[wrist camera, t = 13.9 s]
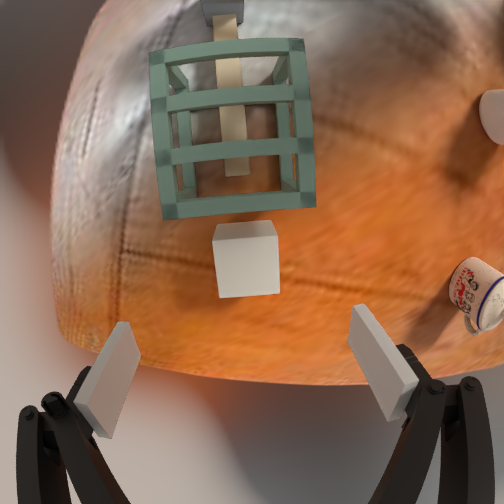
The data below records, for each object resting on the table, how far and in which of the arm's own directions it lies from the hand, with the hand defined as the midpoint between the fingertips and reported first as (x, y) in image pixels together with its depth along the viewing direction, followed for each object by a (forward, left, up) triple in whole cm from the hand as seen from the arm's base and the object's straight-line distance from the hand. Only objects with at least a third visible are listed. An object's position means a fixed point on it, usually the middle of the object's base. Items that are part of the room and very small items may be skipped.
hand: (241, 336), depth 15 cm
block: (+1, +1, -18) cm, 18 cm away
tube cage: (-12, 0, -17) cm, 21 cm away
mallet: (-19, 0, -17) cm, 26 cm away
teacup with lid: (+11, +36, -18) cm, 42 cm away
